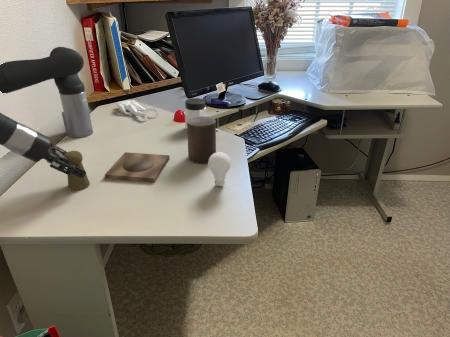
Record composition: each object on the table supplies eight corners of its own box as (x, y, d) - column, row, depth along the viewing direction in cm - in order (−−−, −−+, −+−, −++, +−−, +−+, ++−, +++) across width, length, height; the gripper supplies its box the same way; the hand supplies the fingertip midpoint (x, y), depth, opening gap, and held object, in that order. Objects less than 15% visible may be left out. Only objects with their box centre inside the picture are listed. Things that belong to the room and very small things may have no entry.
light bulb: (208, 180, 106) (207, 148, 101) (229, 179, 106) (229, 147, 101) (209, 192, 100) (208, 158, 95) (231, 191, 101) (232, 157, 95)
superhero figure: (161, 118, 158) (127, 108, 172) (161, 105, 156) (126, 96, 170) (142, 122, 150) (107, 112, 163) (141, 109, 147) (106, 99, 161)
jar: (209, 130, 142) (208, 102, 136) (190, 134, 139) (189, 105, 133) (201, 123, 149) (200, 96, 143) (183, 126, 146) (181, 99, 140)
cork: (82, 191, 100) (75, 158, 95) (64, 189, 101) (55, 156, 96) (93, 181, 105) (86, 149, 100) (76, 179, 106) (68, 147, 101)
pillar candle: (210, 165, 115) (210, 123, 108) (183, 161, 117) (181, 120, 110) (219, 154, 123) (219, 114, 116) (194, 150, 125) (193, 111, 118)
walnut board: (105, 178, 107) (104, 173, 106) (125, 156, 121) (125, 151, 120) (154, 182, 105) (154, 177, 104) (169, 159, 119) (169, 154, 118)
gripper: (16, 143, 96) (69, 170, 107) (20, 164, 85) (79, 191, 96) (32, 122, 96) (84, 151, 107) (38, 140, 85) (95, 169, 96)
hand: (81, 169), depth 102 cm, fingers open, 6 cm apart
